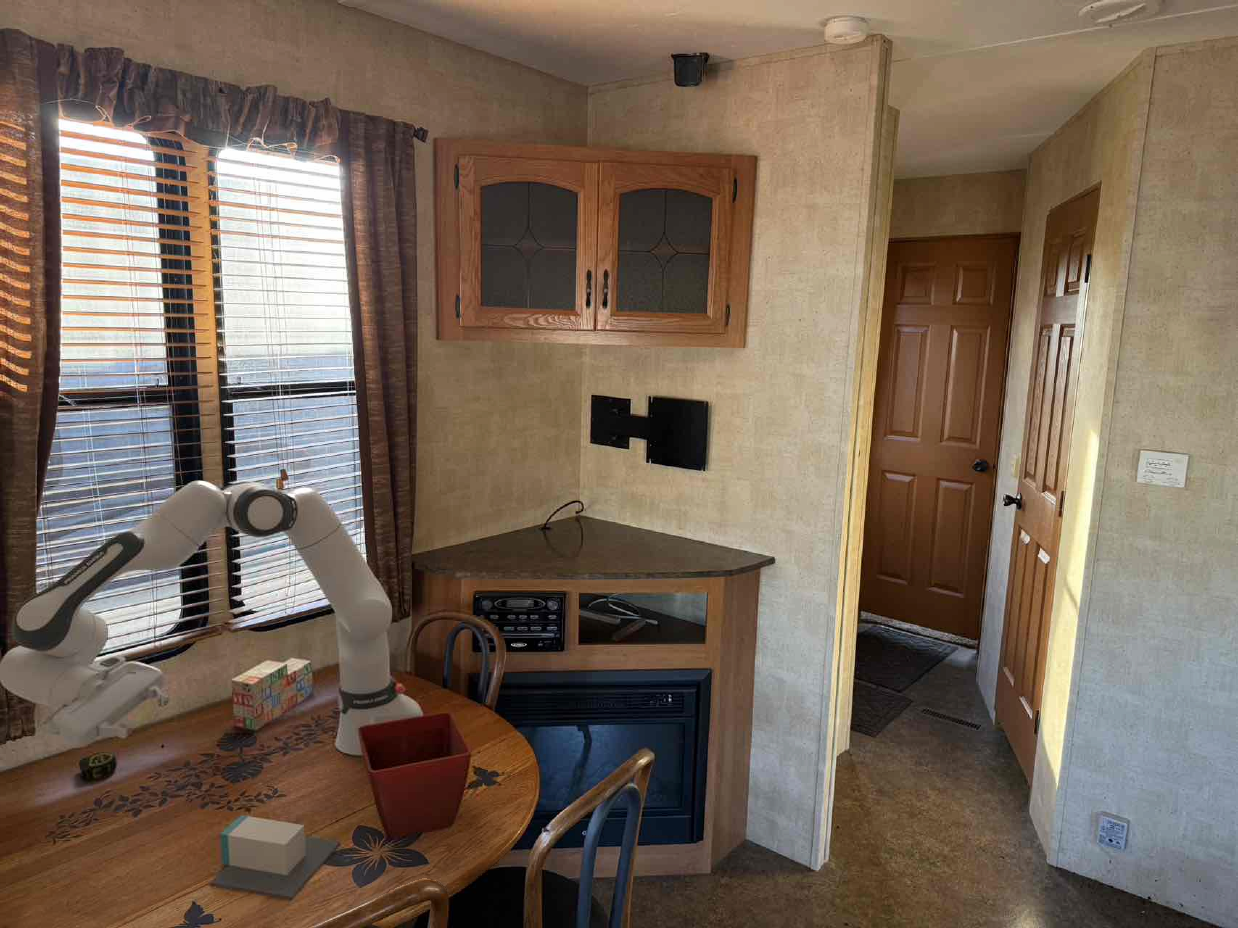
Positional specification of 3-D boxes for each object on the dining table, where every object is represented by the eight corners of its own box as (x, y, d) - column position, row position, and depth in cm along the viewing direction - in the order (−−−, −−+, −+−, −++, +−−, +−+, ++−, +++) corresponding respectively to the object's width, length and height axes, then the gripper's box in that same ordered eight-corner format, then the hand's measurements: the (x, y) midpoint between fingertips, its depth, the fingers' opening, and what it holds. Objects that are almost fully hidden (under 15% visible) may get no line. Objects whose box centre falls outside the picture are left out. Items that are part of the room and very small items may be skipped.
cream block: (241, 814, 162) (304, 825, 159) (243, 844, 163) (305, 854, 160) (220, 833, 156) (285, 844, 154) (222, 863, 157) (286, 875, 155)
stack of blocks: (293, 690, 229) (291, 646, 226) (313, 694, 227) (311, 649, 224) (233, 726, 209) (230, 678, 206) (255, 731, 207) (252, 682, 204)
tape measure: (79, 772, 188) (78, 756, 187) (116, 763, 191) (114, 747, 191) (81, 786, 182) (79, 770, 181) (118, 777, 186) (117, 761, 185)
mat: (209, 884, 152) (209, 882, 152) (264, 831, 168) (264, 829, 168) (291, 899, 149) (291, 896, 149) (340, 844, 164) (340, 841, 164)
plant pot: (359, 801, 179) (357, 725, 176) (452, 783, 186) (450, 709, 183) (372, 855, 161) (369, 772, 158) (473, 832, 169) (472, 752, 166)
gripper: (33, 711, 149) (102, 738, 147) (125, 650, 167) (187, 672, 165) (35, 740, 151) (103, 767, 149) (125, 676, 170) (186, 699, 168)
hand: (148, 717), depth 157 cm, fingers open, 8 cm apart
